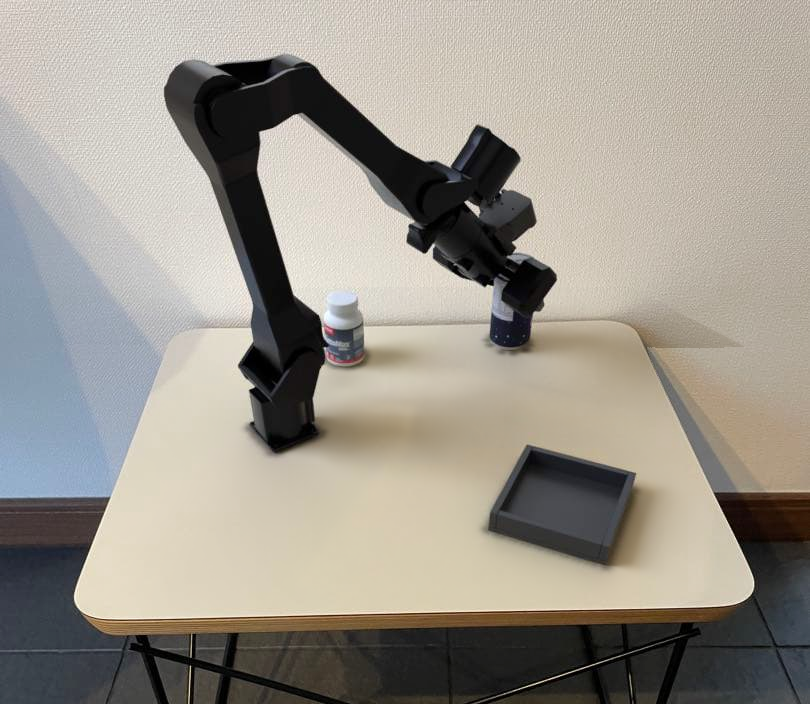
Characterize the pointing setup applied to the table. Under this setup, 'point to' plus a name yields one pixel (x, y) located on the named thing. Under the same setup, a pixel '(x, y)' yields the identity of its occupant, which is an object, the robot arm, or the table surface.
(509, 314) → the beverage can
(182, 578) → the table surface
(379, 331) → the table surface
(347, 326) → the pill bottle
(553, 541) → the square tray
